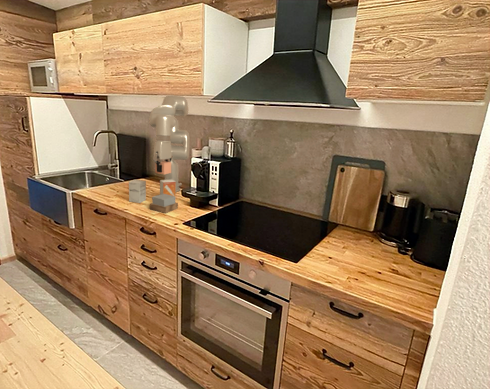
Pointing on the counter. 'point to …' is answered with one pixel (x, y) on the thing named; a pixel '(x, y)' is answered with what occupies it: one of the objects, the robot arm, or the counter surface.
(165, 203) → the tower top
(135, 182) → the supplement box
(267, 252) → the counter surface
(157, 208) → the tower bottom
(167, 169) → the terracotta block
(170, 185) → the small box
